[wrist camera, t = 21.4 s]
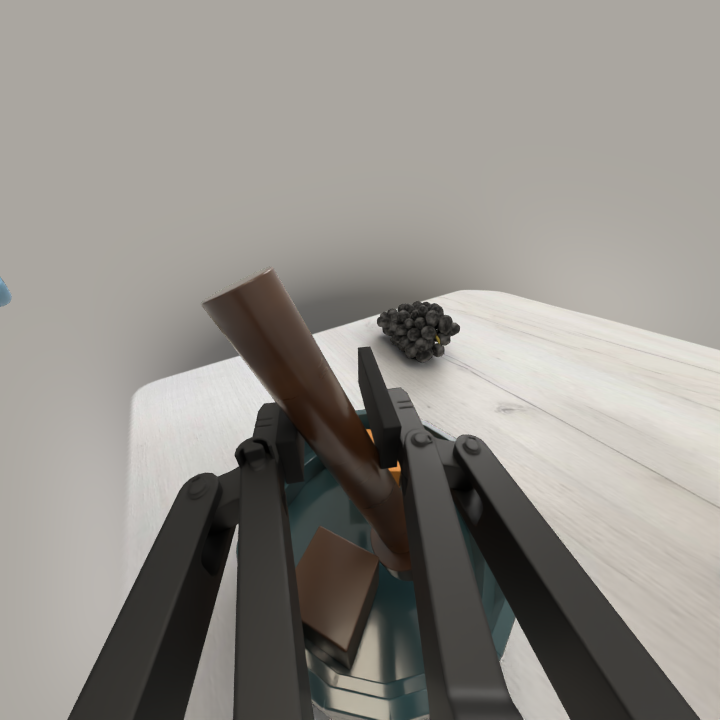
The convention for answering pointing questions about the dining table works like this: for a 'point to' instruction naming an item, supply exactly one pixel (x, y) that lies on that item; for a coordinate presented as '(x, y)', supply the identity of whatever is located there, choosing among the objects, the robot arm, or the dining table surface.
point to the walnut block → (336, 593)
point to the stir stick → (313, 403)
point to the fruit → (418, 329)
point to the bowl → (377, 609)
